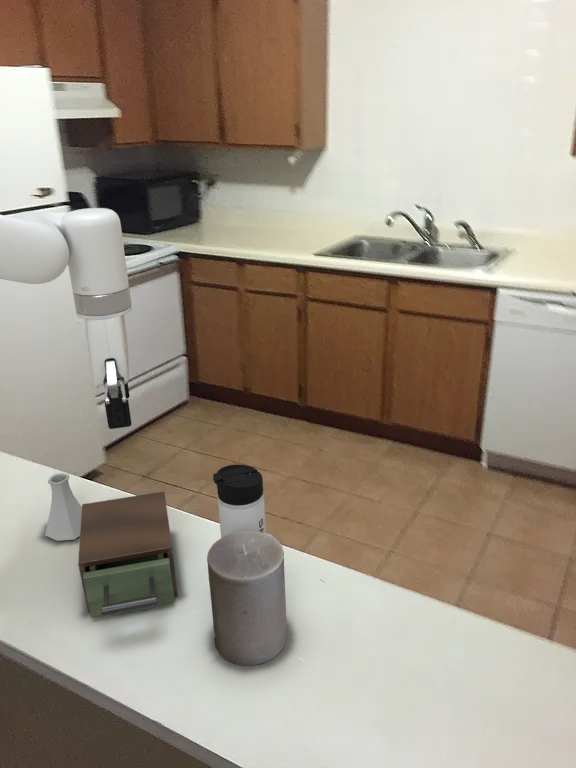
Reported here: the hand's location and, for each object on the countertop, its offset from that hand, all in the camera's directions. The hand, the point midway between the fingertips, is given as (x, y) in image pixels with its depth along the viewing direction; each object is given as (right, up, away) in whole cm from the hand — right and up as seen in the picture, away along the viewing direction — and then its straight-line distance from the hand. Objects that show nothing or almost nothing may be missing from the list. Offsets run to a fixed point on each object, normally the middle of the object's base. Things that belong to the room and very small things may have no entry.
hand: (119, 412), depth 99 cm
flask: (-12, -20, +13) cm, 27 cm away
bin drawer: (+3, -26, -3) cm, 26 cm away
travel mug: (+19, -26, -3) cm, 32 cm away
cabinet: (+1, -24, +2) cm, 24 cm away
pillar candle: (+20, -30, -11) cm, 37 cm away
